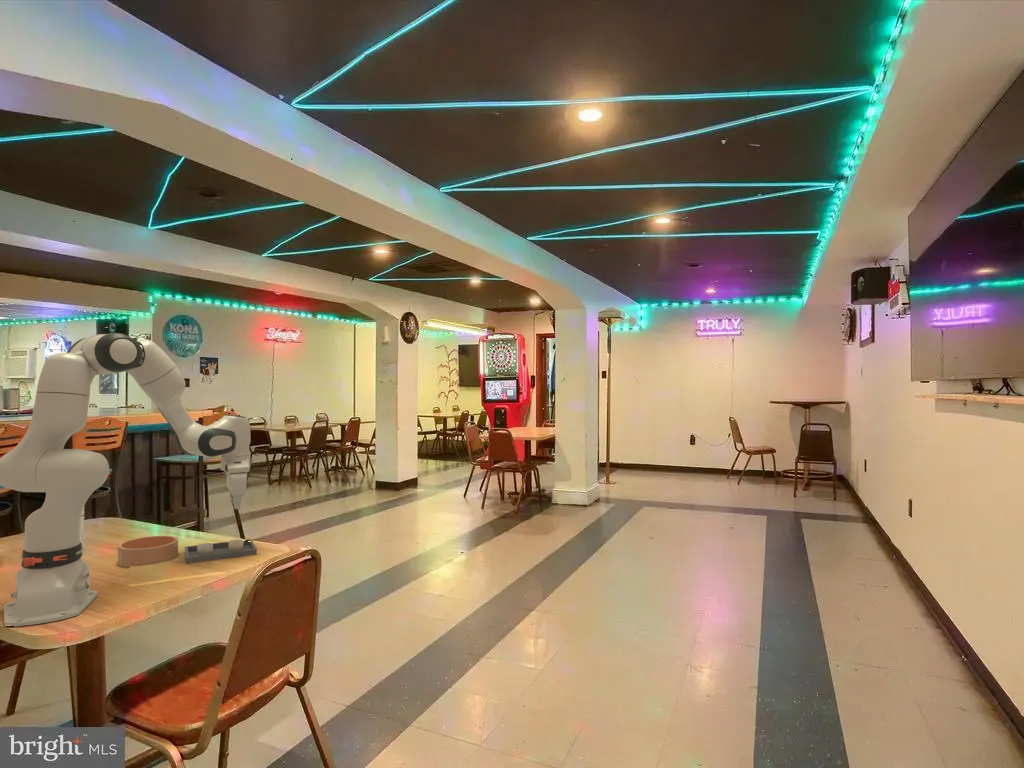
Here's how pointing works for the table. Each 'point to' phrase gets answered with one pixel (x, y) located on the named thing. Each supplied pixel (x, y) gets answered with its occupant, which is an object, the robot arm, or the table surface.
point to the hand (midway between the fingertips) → (235, 505)
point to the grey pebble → (204, 549)
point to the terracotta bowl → (147, 550)
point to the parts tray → (219, 552)
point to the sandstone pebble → (235, 545)
